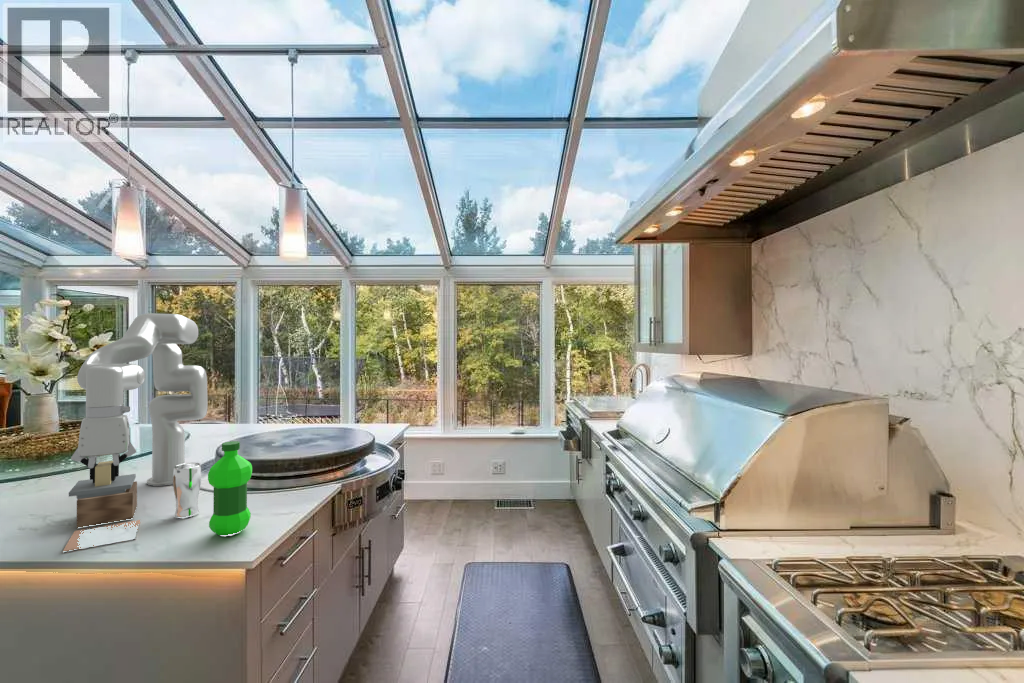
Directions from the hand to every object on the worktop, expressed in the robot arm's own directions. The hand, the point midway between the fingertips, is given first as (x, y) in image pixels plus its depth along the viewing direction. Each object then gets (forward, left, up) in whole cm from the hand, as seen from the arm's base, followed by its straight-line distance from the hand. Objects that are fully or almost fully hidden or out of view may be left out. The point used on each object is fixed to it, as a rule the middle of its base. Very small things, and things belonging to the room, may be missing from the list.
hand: (104, 480), depth 123 cm
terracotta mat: (0, 0, -15) cm, 15 cm away
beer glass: (-18, -6, -15) cm, 24 cm away
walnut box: (+1, -16, -15) cm, 22 cm away
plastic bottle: (-28, +15, -15) cm, 36 cm away
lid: (0, 0, -3) cm, 3 cm away
